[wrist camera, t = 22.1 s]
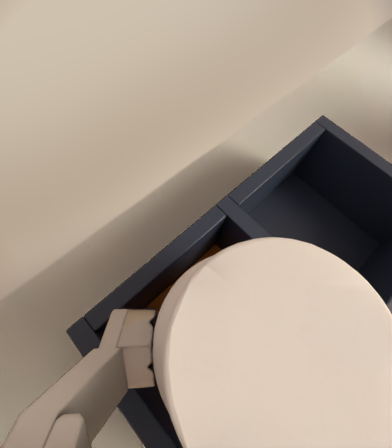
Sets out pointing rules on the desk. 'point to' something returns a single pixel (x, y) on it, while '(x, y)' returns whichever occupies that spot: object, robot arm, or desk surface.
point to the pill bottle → (275, 351)
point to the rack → (261, 228)
